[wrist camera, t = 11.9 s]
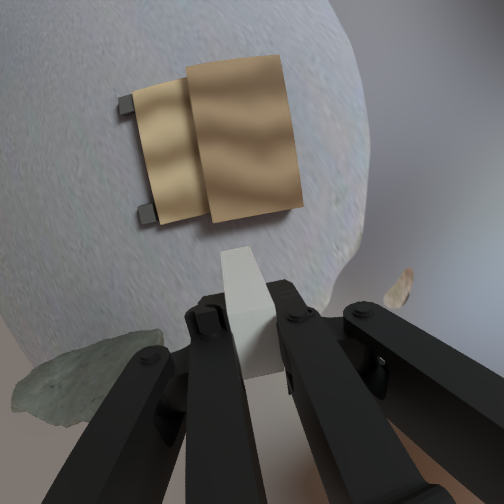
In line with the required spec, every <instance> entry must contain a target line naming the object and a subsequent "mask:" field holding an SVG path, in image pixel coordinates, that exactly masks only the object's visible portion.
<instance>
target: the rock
mask: <svg viewBox="0 0 504 504" xmlns="http://www.w3.org/2000/svg"><path fill="white" fill-rule="evenodd" d="M153 345H160V346H164V338H163V333H162V331H161V330H160V329H154V330H151V331H136V332H129V333H128V334H125V335H121V336H118V337H115V338H112V339H106V340H102V341H100V342H98V343H96V344H93V345H90V346H88V347H85V348H82V349H78V350H72V351H71V352H67V353H64V354H62V355H60V356H58V357H56V358H54V359H52V360H50V361H48V362H45V363H43V364H41V365H39V366H38V367H36V368H35V369H33V370H32V371H31V373H30V374H29V375H28V376H27V377H25V378H24V379H23V380H21V381H20V382H18V383H17V384H16V387H15V389H14V391H13V394H12V398H11V409H12V412H24V411H27V412H28V413H30V414H32V415H34V416H35V417H38V418H40V419H41V420H44V421H46V423H49V424H52V425H55V426H59V425H62V426H64V427H67V428H68V427H70V426H72V425H75V424H78V423H79V422H82V421H85V422H90V421H91V419H92V418H93V416H94V414H95V413H96V411H97V410H98V408H99V407H100V405H101V403H102V402H103V400H104V399H105V397H106V396H107V394H108V393H109V391H110V389H111V388H112V386H113V385H114V383H115V382H116V380H117V379H118V377H119V376H120V374H121V373H122V371H123V370H124V368H125V366H126V365H127V363H128V362H129V360H130V359H131V357H132V356H133V355H134V354H135V353H136V352H137V351H139V350H141V349H142V348H144V347H147V346H153Z"/></svg>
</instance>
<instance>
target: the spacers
mask: <svg viewBox="0 0 504 504" xmlns="http://www.w3.org/2000/svg"><path fill="white" fill-rule="evenodd" d="M118 101H119V109H120V115H122V116H125V115H129V114H132V113H136V112H135V107H134V101H133V95H132V94H130V95H126V96H123V97H119V98H118ZM138 211H139V215H140V219H141V224H142V225H143V224H147V223H152V222H156V221H157V220H158V218H157V214H156V209H155V205H154V202H153V203H148V204H144V205H140V206H139V207H138Z"/></svg>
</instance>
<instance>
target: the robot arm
mask: <svg viewBox="0 0 504 504" xmlns="http://www.w3.org/2000/svg"><path fill="white" fill-rule="evenodd" d="M220 254H221V264H222V273H223V282H224V291H225V292H224V293H219V294H214V295H208V296H203V297H202V299H201V300H200V301H199V302H198V305H197V306H194V307H192V308H191V309H189V310H188V311H187V312H186V314H185V316H184V317H185V320H186V324H187V327H188V330H189V334H190V337H191V344H190V345H188V346H187V347H185V348H183V349H181V350H178V351H176V352H173V353H170V352H169V350H168V348H166V347H164V346H160V345H153V346H147V347H144V348H142V349H141V350H139V351H137V352H136V353H135V354H134V355H133V356H132V357H131V359H130V360H129V362H128V363H127V365H126V366H125V368H124V370H123V371H122V373H121V374H120V376H119V377H118V379H117V380H116V382H115V383H114V385H113V386H112V388H111V389H110V391H109V393H108V394H107V396H106V397H105V399H104V400H103V402H102V403H101V405H100V407H99V408H98V410H97V411H96V413H95V414H94V416H93V418H92V419H91V421H90V422H89V424H88V426H87V427H86V429H85V430H84V432H83V434H82V435H81V437H80V439H79V440H78V442H77V443H76V445H75V447H74V449H73V450H72V452H71V453H70V455H69V457H68V458H67V460H66V462H65V463H64V465H63V467H62V468H61V470H60V472H59V473H58V475H57V477H56V479H55V480H54V482H53V484H52V486H51V487H50V489H49V491H48V492H47V494H46V496H45V498H44V500H43V501H42V504H162V502H163V499H164V496H165V492H166V490H167V487H168V484H169V481H170V478H171V475H172V472H173V469H174V466H175V463H176V460H177V457H178V454H179V452H180V448H181V446H182V443H183V440H184V437H185V434H186V468H185V469H186V470H185V472H186V473H185V478H186V479H185V484H186V485H185V486H186V487H185V491H186V492H185V493H186V495H185V497H186V504H268V503H267V498H266V494H265V489H264V484H263V479H262V474H261V469H260V464H259V459H258V454H257V449H256V444H255V438H254V433H253V428H252V422H251V417H250V412H249V406H248V401H247V395H246V389H245V385H244V381H243V380H244V379H249V378H254V377H258V376H263V375H268V374H273V373H277V372H281V371H284V367H285V371H286V378H287V385H288V393H289V395H291V394H292V397H293V400H294V403H295V405H296V408H297V411H298V414H299V416H300V420H301V423H302V426H303V429H304V431H305V434H306V437H307V440H308V443H309V446H310V449H311V452H312V454H313V457H314V460H315V463H316V466H317V469H318V472H319V475H320V477H321V480H322V483H323V486H324V488H325V491H326V494H327V497H328V500H329V503H330V504H456V502H455V501H454V499H453V498H452V496H451V495H450V494H449V492H448V491H447V490H446V489H445V488H444V487H442V486H440V485H439V484H429V483H427V482H426V481H425V480H424V478H423V477H422V475H421V474H420V472H419V470H418V469H417V467H416V465H415V464H414V462H413V461H412V459H411V457H410V456H409V454H408V452H407V451H406V449H405V447H404V446H403V445H402V443H401V441H400V439H399V438H398V436H397V434H396V433H395V431H394V430H393V428H392V427H391V425H390V423H389V422H388V420H387V419H389V420H390V421H391V422H392V423H393V424H394V425H395V426H396V427H398V428H399V429H400V430H401V431H402V432H403V433H404V434H405V435H406V436H407V437H409V438H410V439H411V440H412V441H413V442H414V443H415V444H416V445H418V446H419V447H420V448H421V449H422V450H423V451H424V452H425V453H427V454H428V455H429V456H430V457H432V459H433V460H435V461H436V462H437V463H438V464H439V465H440V466H442V467H443V468H444V469H445V470H446V471H448V473H450V474H451V475H452V476H453V477H454V478H455V479H457V480H458V481H459V482H460V483H461V484H462V485H464V486H465V487H466V488H467V489H468V490H470V491H471V492H472V493H473V494H474V495H475V496H477V497H478V498H479V499H480V500H482V501H483V502H484V503H485V504H504V378H503V377H501V376H499V375H497V374H496V373H494V372H493V371H491V370H489V369H488V368H486V367H484V366H483V365H481V364H479V363H478V362H476V361H474V360H473V359H471V358H469V357H468V356H466V355H464V354H462V353H461V352H459V351H457V350H456V349H454V348H452V347H451V346H449V345H447V344H445V343H444V342H442V341H440V340H439V339H437V338H435V337H433V336H432V335H430V334H428V333H426V332H425V331H423V330H421V329H420V328H418V327H416V326H415V325H413V324H411V323H409V322H407V321H406V320H404V319H402V318H401V317H399V316H397V315H395V314H394V313H392V312H390V311H388V310H387V309H385V308H383V307H381V306H380V305H378V304H375V303H372V302H366V301H362V302H356V303H353V304H350V305H349V306H347V307H346V308H345V309H344V311H343V317H333V318H327V317H321V316H320V314H319V313H318V311H316V310H315V309H314V308H311V307H308V306H307V305H306V304H305V302H304V301H303V299H302V297H301V296H300V294H299V293H298V291H297V290H296V288H295V286H294V285H293V283H291V282H289V281H287V280H285V279H284V280H279V281H274V282H269V283H265V281H264V279H263V277H262V274H261V272H260V270H259V267H258V265H257V263H256V260H255V258H254V256H253V253H252V251H251V249H250V246H247V247H242V248H237V249H231V250H226V251H221V252H220ZM380 357H381V358H382V359H383V360H384V361H385V362H384V361H383V360H381V359H380ZM283 364H284V366H283Z"/></svg>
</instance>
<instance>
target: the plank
mask: <svg viewBox="0 0 504 504" xmlns="http://www.w3.org/2000/svg"><path fill="white" fill-rule="evenodd" d="M132 95H133V101H134V107H135V112H136V118H137V123H138V128H139V133H140V138H141V143H142V148H143V153H144V157H145V162H146V167H147V171H148V175H149V180H150V184H151V188H152V193H153V197H154V201H155V205H156V209H157V213H158V217H159V221H160V224H161V225H162V224H166V223H170V222H174V221H178V220H182V219H186V218H191V217H195V216H199V215H204V214H208V213H211V211H210V206H209V201H208V195H207V190H206V185H205V179H204V174H203V168H202V163H201V157H200V152H199V146H198V140H197V135H196V129H195V123H194V117H193V111H192V105H191V99H190V93H189V86H188V80H187V77H186V78H182V79H178V80H174V81H170V82H166V83H162V84H158V85H154V86H151V87H147V88H144V89H140V90H137V91H134V92H132Z"/></svg>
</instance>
